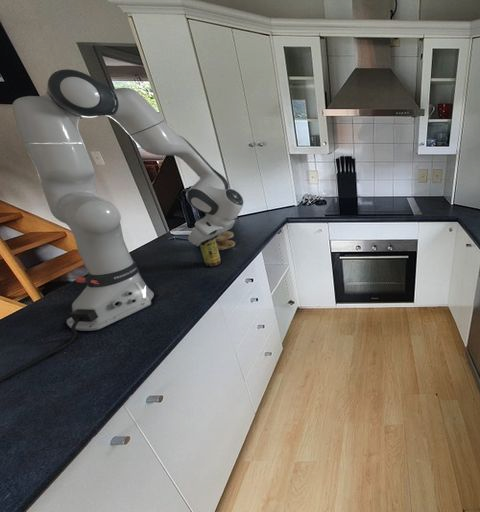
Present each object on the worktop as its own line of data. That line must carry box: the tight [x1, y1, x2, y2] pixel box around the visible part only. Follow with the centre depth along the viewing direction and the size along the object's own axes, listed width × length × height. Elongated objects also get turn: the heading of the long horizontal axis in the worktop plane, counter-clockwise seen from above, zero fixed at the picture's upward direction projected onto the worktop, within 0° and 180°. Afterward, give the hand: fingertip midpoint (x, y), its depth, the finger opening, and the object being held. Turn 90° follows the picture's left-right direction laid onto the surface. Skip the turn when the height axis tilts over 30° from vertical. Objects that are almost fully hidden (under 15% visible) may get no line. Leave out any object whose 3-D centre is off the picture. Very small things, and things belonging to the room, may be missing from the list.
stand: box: [215, 230, 236, 251], centre depth 141 cm, size 11×11×6 cm
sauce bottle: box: [199, 237, 222, 267], centre depth 120 cm, size 7×6×20 cm
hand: (206, 240), depth 119 cm, fingers open, 8 cm apart
